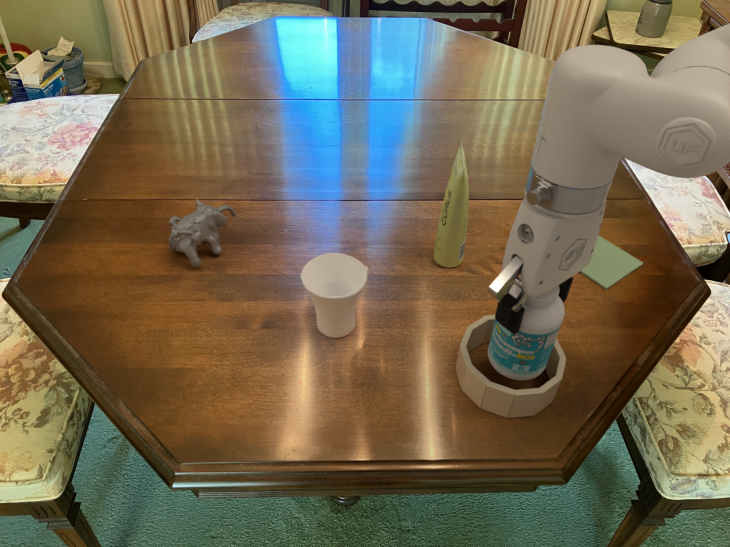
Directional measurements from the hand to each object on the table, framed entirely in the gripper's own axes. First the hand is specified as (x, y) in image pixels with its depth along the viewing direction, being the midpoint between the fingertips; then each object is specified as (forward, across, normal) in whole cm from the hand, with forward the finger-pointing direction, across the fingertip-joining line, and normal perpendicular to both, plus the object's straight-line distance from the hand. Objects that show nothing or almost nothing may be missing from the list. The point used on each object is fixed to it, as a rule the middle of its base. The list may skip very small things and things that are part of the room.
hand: (530, 309), depth 65 cm
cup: (+13, -13, +22) cm, 28 cm away
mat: (+13, +30, +8) cm, 33 cm away
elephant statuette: (+12, -21, +49) cm, 55 cm away
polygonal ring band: (+13, 0, +1) cm, 13 cm away
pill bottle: (+10, 0, 0) cm, 10 cm away
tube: (+13, +10, +23) cm, 28 cm away
